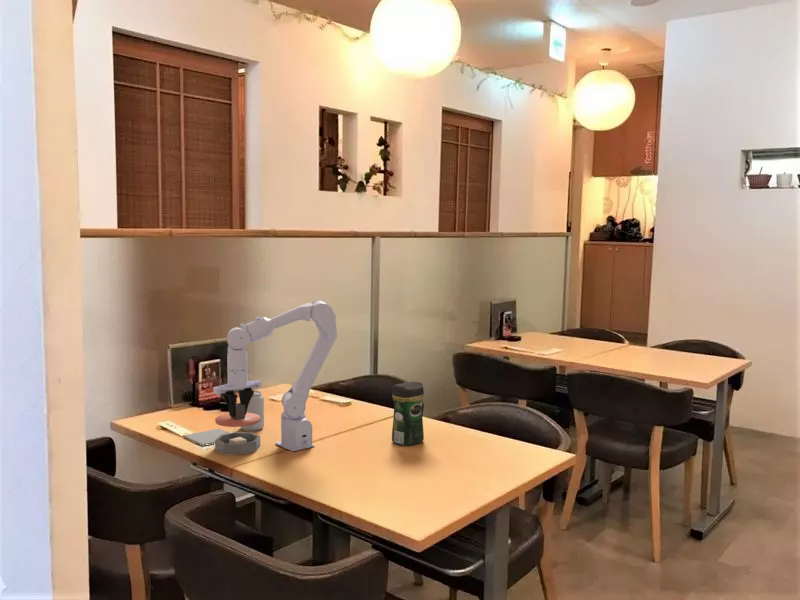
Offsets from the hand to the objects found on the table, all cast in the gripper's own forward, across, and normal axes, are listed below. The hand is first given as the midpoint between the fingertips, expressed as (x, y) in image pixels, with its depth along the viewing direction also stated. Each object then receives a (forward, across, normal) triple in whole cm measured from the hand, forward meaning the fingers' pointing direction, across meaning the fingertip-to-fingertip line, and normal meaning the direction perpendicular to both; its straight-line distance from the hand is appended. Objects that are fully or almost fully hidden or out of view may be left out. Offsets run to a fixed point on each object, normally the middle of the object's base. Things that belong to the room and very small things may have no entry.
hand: (237, 415), depth 203 cm
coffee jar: (+10, -42, +28) cm, 51 cm away
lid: (+2, 0, 0) cm, 2 cm away
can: (+10, -14, -15) cm, 23 cm away
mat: (+10, +1, -14) cm, 17 cm away
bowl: (+10, 0, 0) cm, 10 cm away
